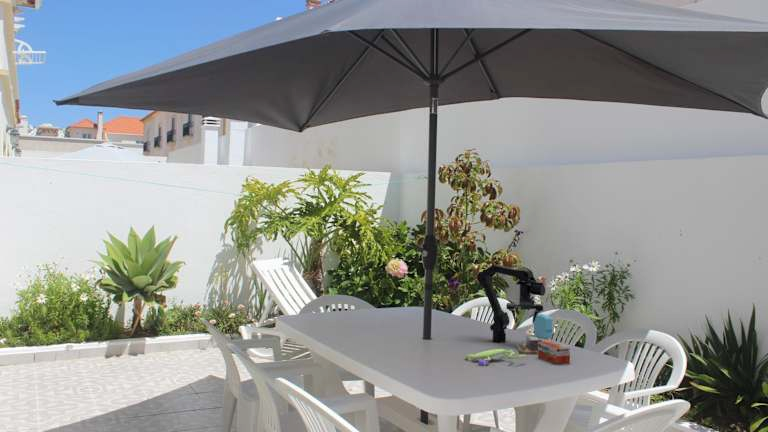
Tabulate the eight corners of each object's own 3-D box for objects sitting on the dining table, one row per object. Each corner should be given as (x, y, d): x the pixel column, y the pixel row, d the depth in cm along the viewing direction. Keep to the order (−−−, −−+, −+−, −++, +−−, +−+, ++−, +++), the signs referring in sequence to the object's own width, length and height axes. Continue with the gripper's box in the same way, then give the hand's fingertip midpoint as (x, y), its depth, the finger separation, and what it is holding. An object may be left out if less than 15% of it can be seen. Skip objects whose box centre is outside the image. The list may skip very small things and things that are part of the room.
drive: (529, 350, 332) (530, 340, 332) (526, 346, 342) (526, 336, 342) (542, 350, 332) (542, 340, 332) (537, 346, 342) (537, 336, 342)
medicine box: (570, 363, 310) (570, 346, 310) (555, 365, 308) (555, 347, 308) (551, 356, 325) (551, 340, 325) (537, 357, 322) (537, 341, 322)
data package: (552, 338, 369) (552, 316, 369) (545, 339, 368) (545, 317, 367) (540, 334, 380) (540, 313, 380) (533, 335, 379) (533, 314, 379)
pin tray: (519, 353, 330) (519, 345, 330) (516, 347, 346) (516, 339, 346) (552, 354, 328) (552, 346, 328) (547, 347, 344) (547, 339, 344)
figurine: (528, 366, 305) (528, 354, 305) (471, 367, 303) (471, 355, 303) (517, 357, 324) (517, 345, 324) (463, 358, 322) (463, 346, 322)
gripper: (508, 295, 343) (507, 325, 344) (544, 296, 341) (543, 326, 341) (506, 292, 354) (505, 321, 355) (542, 293, 352) (541, 322, 353)
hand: (524, 323), depth 351 cm, fingers open, 9 cm apart
